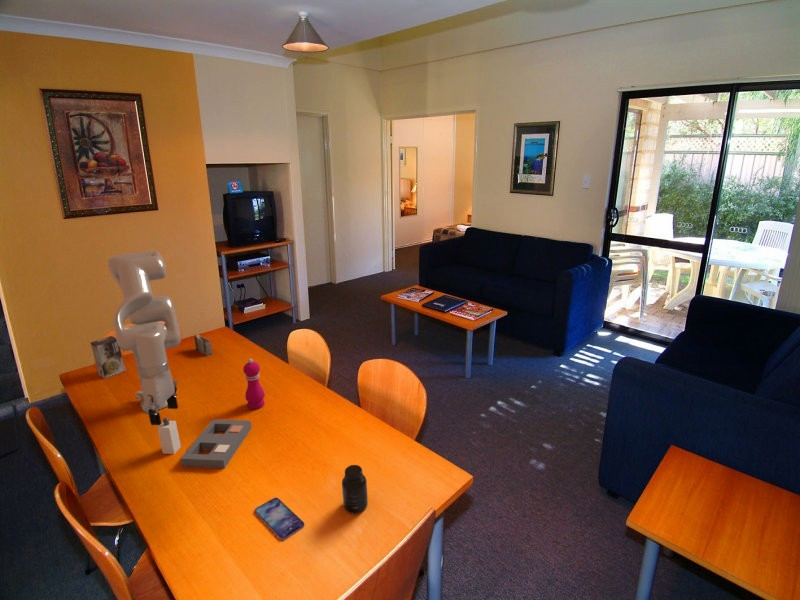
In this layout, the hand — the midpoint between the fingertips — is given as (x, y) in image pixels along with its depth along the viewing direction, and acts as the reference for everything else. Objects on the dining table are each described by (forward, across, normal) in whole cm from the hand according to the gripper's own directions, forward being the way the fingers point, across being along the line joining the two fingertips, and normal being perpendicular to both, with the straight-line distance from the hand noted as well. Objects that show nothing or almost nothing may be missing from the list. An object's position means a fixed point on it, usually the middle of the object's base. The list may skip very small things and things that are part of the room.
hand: (165, 416), depth 150 cm
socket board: (+14, -4, +14) cm, 20 cm away
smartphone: (+15, +26, +45) cm, 55 cm away
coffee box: (+12, -53, -58) cm, 80 cm away
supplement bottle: (+15, +20, +65) cm, 70 cm away
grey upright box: (+12, -77, -27) cm, 82 cm away
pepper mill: (+13, -30, +17) cm, 37 cm away
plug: (+13, -1, -1) cm, 13 cm away
